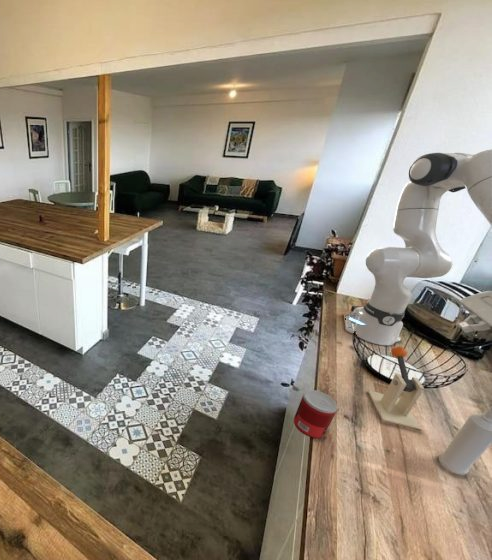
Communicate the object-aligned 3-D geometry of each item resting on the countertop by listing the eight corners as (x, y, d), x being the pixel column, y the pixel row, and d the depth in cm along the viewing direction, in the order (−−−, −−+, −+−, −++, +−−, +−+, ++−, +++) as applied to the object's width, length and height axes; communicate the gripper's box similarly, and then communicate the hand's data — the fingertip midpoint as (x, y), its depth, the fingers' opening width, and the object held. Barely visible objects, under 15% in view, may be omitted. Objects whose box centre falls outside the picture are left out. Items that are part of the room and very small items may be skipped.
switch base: (366, 393, 102) (382, 363, 96) (400, 401, 99) (419, 371, 93) (380, 422, 92) (399, 390, 86) (419, 432, 89) (441, 400, 83)
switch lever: (387, 348, 100) (393, 343, 97) (401, 351, 98) (408, 345, 96) (396, 390, 92) (403, 385, 89) (412, 393, 90) (419, 389, 88)
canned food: (327, 443, 86) (341, 415, 81) (295, 434, 88) (306, 406, 83) (320, 421, 92) (333, 394, 87) (290, 413, 95) (301, 386, 90)
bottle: (471, 479, 77) (533, 407, 66) (446, 475, 78) (504, 403, 67) (454, 459, 81) (510, 389, 70) (431, 456, 82) (483, 386, 71)
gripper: (494, 280, 89) (435, 303, 97) (555, 316, 72) (477, 340, 80) (506, 296, 90) (446, 318, 97) (570, 336, 73) (491, 358, 80)
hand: (460, 328), depth 88 cm, fingers closed
